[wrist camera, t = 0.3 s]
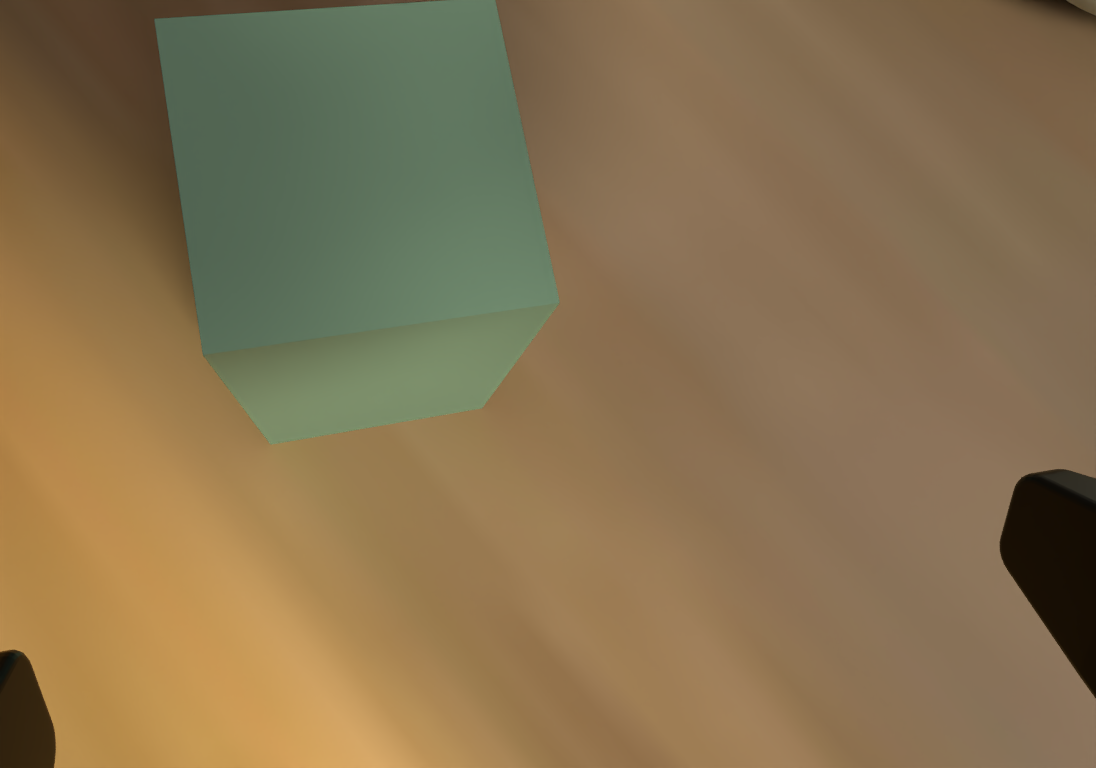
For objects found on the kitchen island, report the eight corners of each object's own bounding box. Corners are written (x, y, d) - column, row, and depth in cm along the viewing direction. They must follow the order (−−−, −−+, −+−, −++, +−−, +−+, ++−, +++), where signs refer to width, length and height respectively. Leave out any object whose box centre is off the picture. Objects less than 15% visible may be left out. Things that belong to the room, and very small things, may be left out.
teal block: (481, 408, 22) (559, 302, 13) (270, 444, 21) (203, 354, 12) (444, 216, 23) (494, -3, 14) (238, 240, 21) (154, 18, 13)
